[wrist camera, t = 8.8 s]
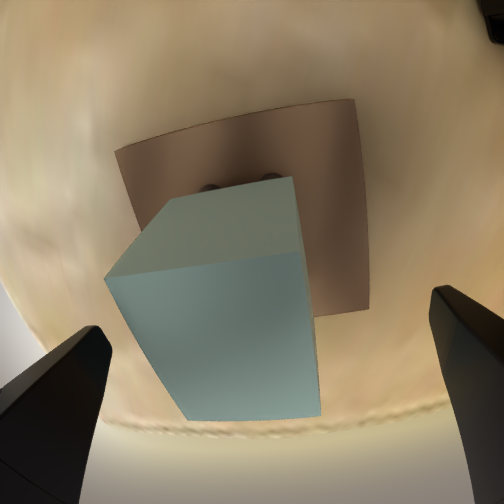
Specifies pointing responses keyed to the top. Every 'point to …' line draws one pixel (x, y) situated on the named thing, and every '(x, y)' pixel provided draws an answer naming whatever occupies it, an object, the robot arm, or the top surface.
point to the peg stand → (272, 167)
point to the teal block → (225, 303)
